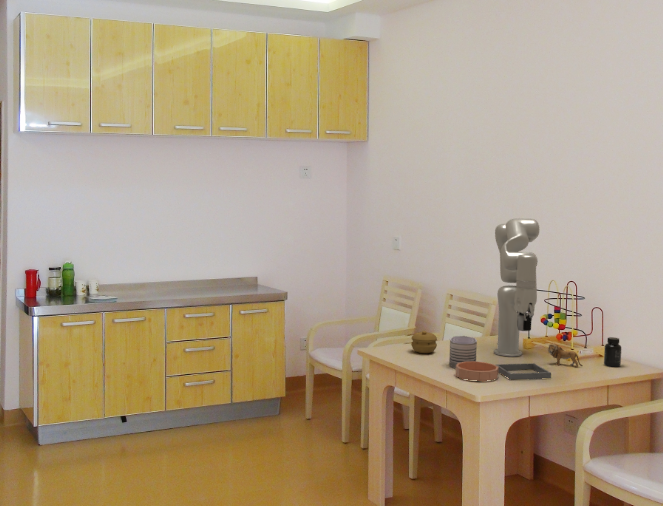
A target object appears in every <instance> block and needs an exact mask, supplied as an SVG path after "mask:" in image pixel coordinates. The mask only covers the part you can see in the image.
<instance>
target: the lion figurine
mask: <svg viewBox="0 0 663 506" xmlns="http://www.w3.org/2000/svg"><path fill="white" fill-rule="evenodd" d="M547 351H548V354H549V355H551V356H552V358H554V359H556V361H557V362H555V366H560V364H561V362H560V361H561V359H563V360H568V359H570V360H571V361H572V363H570V366H574V368H575V369H577V368H578V367H580V366H581V367H583V364H581V361H580V358H579V355H578V354H577V352H576V351H574V350H564V349H563V348H562V347H560V346H559V345H557V344H555V343H550V344H549V345H548V348H547ZM556 363H557V364H556Z"/></svg>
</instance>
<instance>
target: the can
mask: <svg viewBox="0 0 663 506" xmlns="http://www.w3.org/2000/svg"><path fill="white" fill-rule="evenodd" d="M477 343H478V340H477V339H476V338H475V337H473V336H465V335H459V336H458V335H456V336H453V337H450V338H449V359H448V360H449V361H448V363H449V366H450V368H453V369H456V365H457V364H458V363H461V362H468V361H477V347H478V345H477Z"/></svg>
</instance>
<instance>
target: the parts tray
mask: <svg viewBox="0 0 663 506" xmlns="http://www.w3.org/2000/svg"><path fill="white" fill-rule="evenodd" d="M494 365H496V366H498V367H499V374H500V373H501V374H503V375H504V376H506V377H508V378H509V379H529V380H543V379H542V378H551V379H552V372H551V371H549V370H547V369H545V368H544V367H542V366H540V365H538V364H537V363H535V362H534V363H532V362H531V363H528V362H527V363H501V364H500V363H498V364H494ZM519 369H523V370H522V371H526V370H525V369H533V370H532V371H535V372H520V373H519V372H517V373H515V372H514V373H512V372H510V371H520V370H519ZM536 371H537V372H536ZM538 372H539V373H538ZM501 374H500V375H501ZM503 375H502V376H503ZM504 376H503V377H504ZM506 377H505V378H506ZM509 379H508V380H509Z"/></svg>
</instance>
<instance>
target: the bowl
mask: <svg viewBox="0 0 663 506" xmlns="http://www.w3.org/2000/svg"><path fill="white" fill-rule="evenodd" d="M499 375H500V373H499V367H498V366H496V365H495V364H494V363H491V362H485V361H477V360H476V361H468V362H461V363H458V364H457V365H456V368H455V377H456V378H458V377H459V378H458V379H460V378H462V379H461V380H463V379H468V380H477V381H487V380H494V379H497V378H498V379H499ZM498 379H497V380H498Z"/></svg>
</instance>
